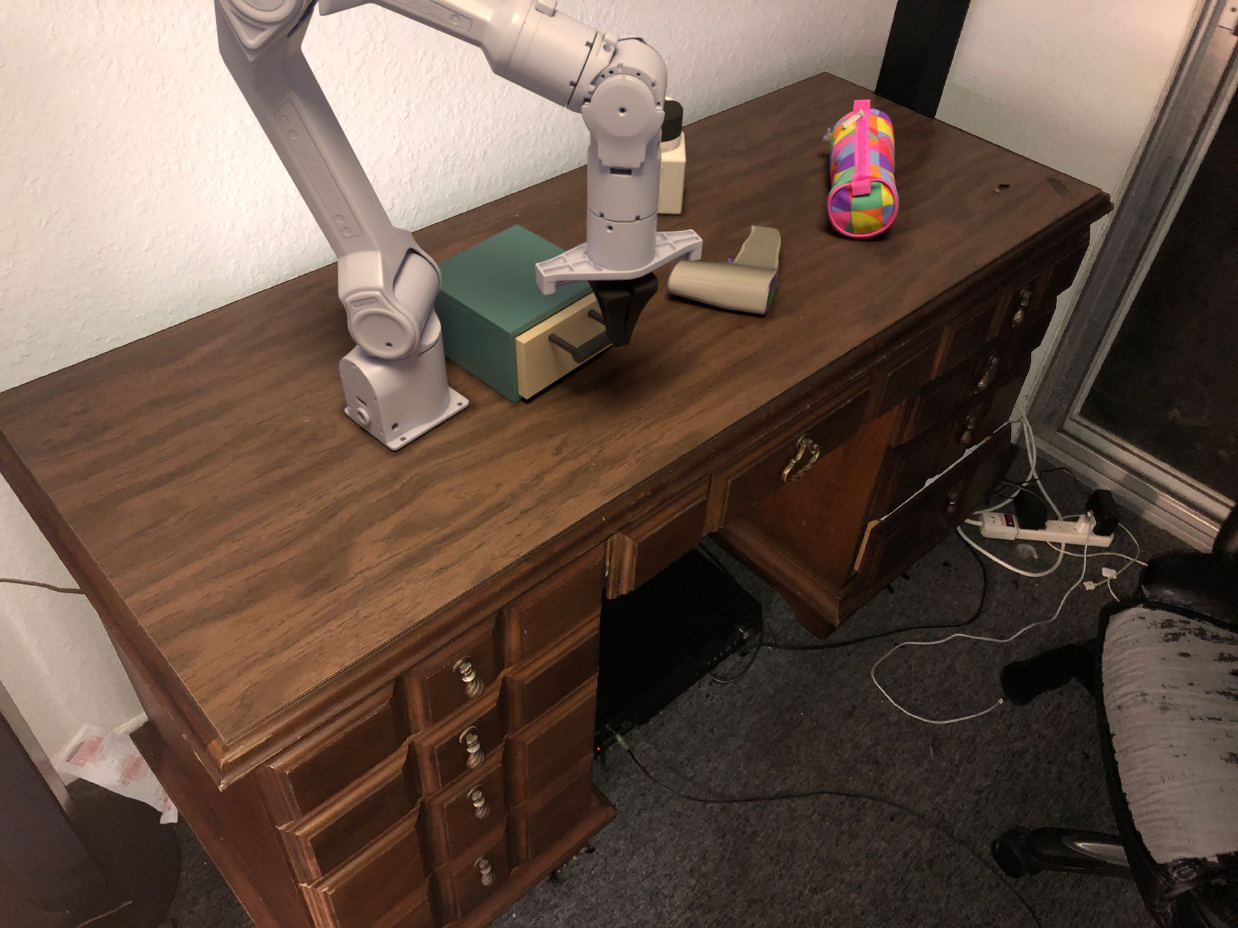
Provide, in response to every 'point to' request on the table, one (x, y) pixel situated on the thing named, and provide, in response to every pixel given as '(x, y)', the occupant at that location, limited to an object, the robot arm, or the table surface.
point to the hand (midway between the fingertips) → (617, 339)
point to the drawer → (559, 344)
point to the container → (672, 159)
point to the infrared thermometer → (734, 275)
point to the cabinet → (497, 304)
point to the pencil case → (862, 173)
